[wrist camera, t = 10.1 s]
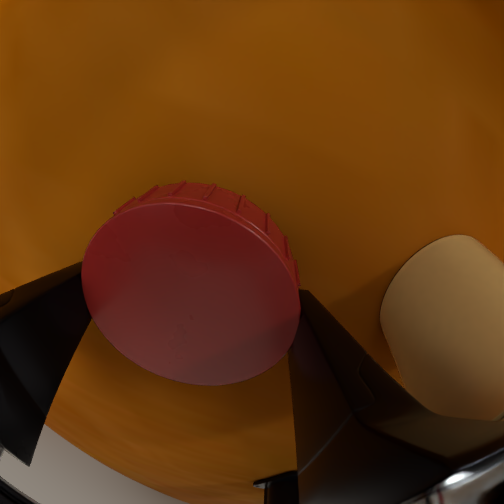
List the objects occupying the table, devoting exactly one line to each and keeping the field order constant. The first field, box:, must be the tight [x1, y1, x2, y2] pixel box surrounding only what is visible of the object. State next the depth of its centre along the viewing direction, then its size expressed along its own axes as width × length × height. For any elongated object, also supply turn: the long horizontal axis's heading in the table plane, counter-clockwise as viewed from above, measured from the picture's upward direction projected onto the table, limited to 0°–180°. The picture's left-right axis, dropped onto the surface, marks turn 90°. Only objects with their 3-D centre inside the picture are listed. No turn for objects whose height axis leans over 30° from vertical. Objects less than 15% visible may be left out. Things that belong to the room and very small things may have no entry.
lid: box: [81, 180, 301, 386], centre depth 8 cm, size 7×7×2 cm
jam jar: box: [380, 235, 504, 421], centre depth 7 cm, size 6×6×9 cm
